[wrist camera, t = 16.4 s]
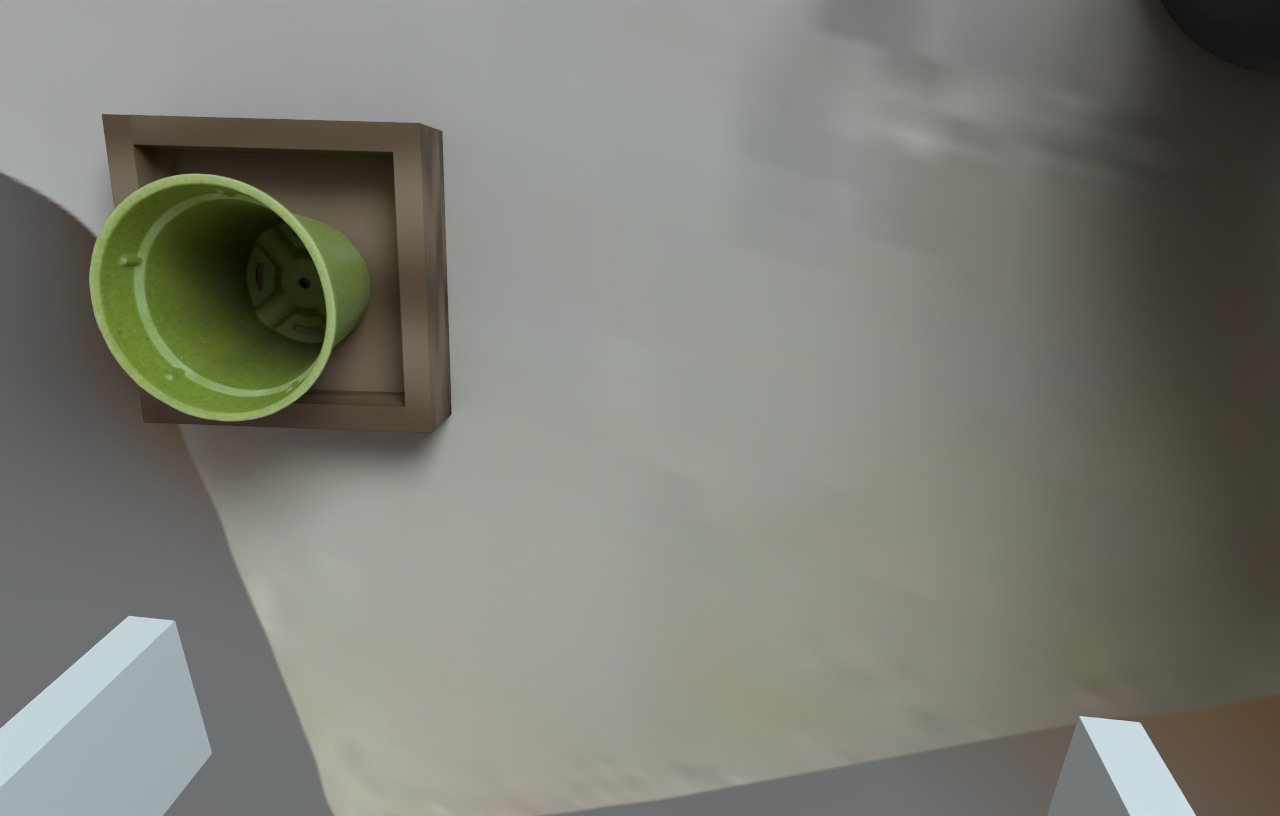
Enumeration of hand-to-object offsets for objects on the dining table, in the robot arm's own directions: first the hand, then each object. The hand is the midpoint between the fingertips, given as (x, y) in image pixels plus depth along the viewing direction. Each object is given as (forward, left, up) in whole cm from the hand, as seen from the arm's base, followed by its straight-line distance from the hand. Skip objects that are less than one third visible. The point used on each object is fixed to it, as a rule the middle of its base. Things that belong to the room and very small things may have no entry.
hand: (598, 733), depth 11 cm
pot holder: (+5, -17, -28) cm, 33 cm away
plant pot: (+5, -16, -28) cm, 33 cm away
